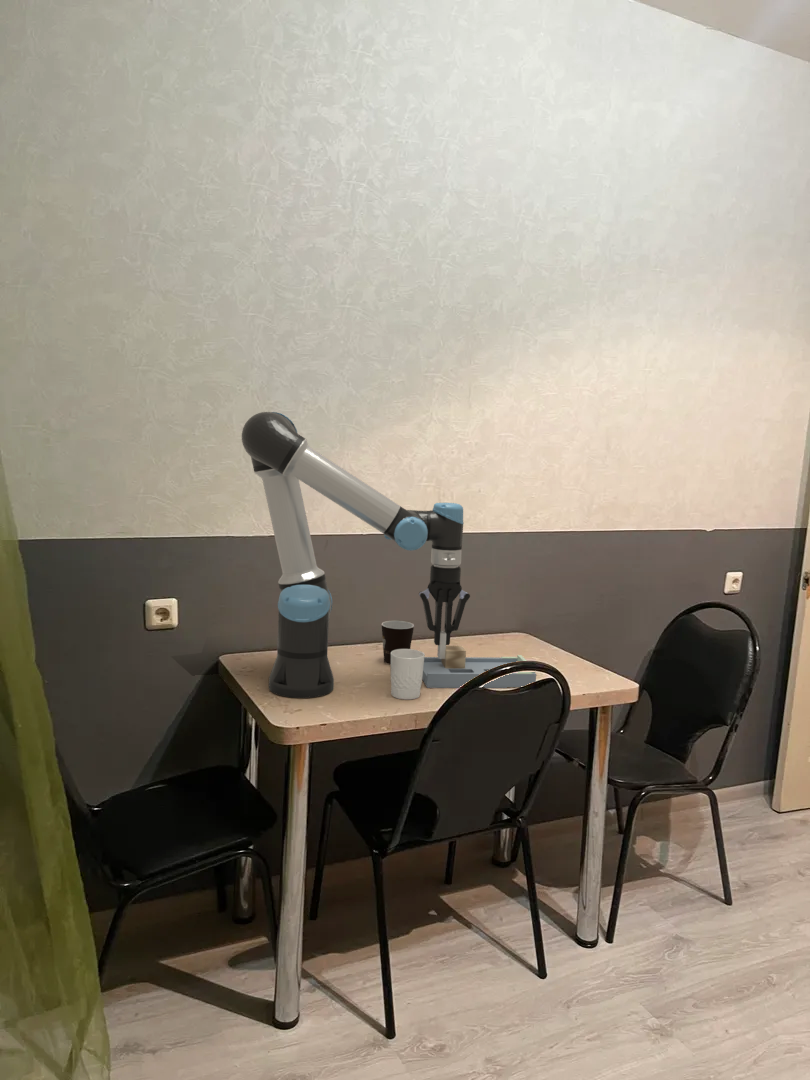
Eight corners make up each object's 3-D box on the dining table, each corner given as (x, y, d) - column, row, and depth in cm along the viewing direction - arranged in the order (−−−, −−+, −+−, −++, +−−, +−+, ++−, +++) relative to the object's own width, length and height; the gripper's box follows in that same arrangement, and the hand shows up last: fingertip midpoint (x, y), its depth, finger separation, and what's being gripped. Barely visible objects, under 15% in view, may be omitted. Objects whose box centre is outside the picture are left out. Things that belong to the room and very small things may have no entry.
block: (445, 668, 202) (446, 651, 201) (441, 662, 207) (442, 645, 206) (464, 668, 203) (465, 651, 202) (460, 662, 208) (461, 645, 207)
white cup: (410, 687, 194) (412, 647, 192) (429, 697, 187) (431, 656, 186) (382, 692, 190) (384, 650, 188) (400, 702, 183) (402, 660, 182)
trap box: (427, 687, 194) (428, 669, 194) (417, 670, 208) (418, 653, 207) (535, 687, 198) (536, 670, 198) (518, 670, 212) (520, 653, 211)
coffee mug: (408, 667, 210) (410, 630, 208) (376, 664, 211) (378, 627, 210) (417, 655, 221) (418, 620, 220) (386, 652, 223) (388, 617, 221)
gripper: (422, 567, 196) (418, 661, 199) (474, 568, 198) (469, 661, 201) (417, 562, 203) (413, 653, 207) (468, 563, 205) (463, 653, 209)
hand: (441, 657), depth 204 cm, fingers closed
